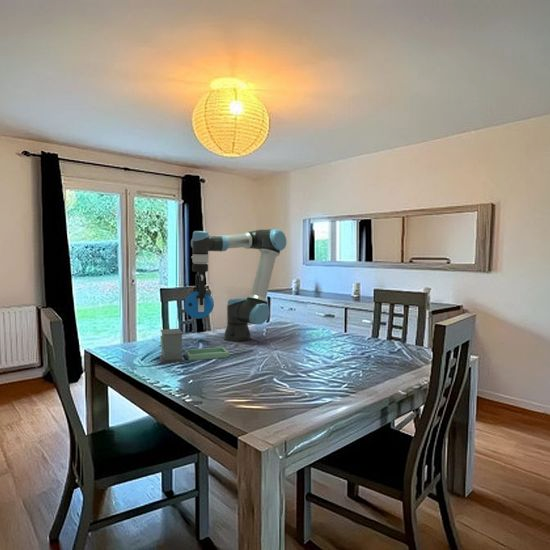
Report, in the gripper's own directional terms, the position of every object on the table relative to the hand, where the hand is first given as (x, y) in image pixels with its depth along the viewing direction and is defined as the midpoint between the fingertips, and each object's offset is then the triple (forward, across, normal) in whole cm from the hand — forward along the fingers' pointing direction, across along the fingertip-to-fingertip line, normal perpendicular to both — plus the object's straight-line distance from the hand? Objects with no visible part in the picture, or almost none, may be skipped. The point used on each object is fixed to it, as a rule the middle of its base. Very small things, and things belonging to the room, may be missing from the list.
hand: (199, 310), depth 198 cm
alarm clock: (+4, 0, 0) cm, 4 cm away
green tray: (+21, +4, +3) cm, 22 cm away
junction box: (+22, +5, -14) cm, 26 cm away
